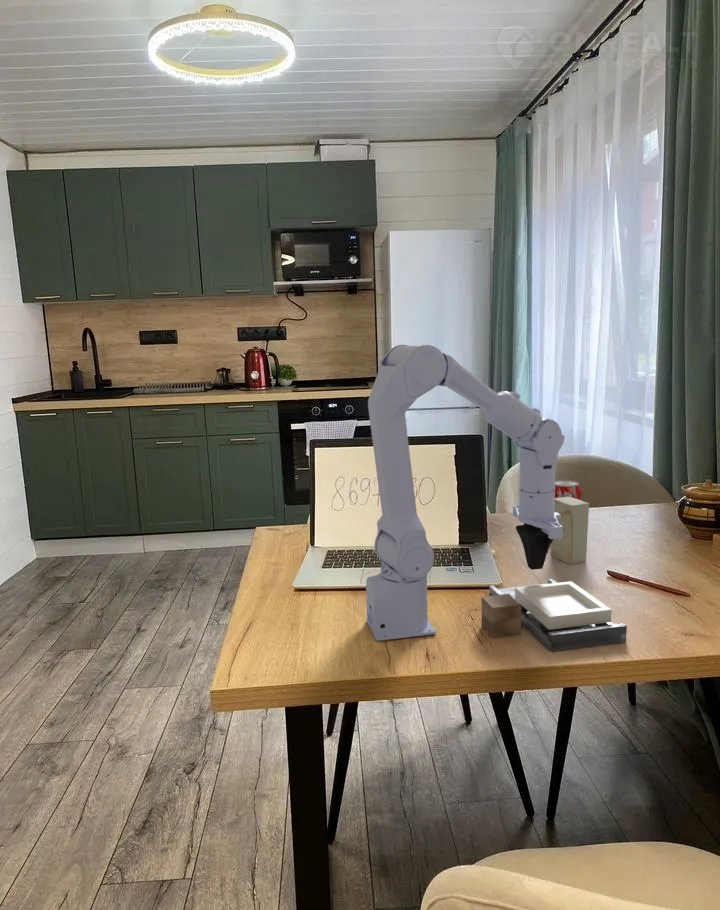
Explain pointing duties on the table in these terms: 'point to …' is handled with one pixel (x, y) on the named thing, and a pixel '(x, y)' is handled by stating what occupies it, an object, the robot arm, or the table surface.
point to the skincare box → (571, 530)
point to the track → (568, 630)
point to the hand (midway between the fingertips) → (535, 567)
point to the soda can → (567, 489)
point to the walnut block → (501, 616)
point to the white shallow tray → (562, 605)
